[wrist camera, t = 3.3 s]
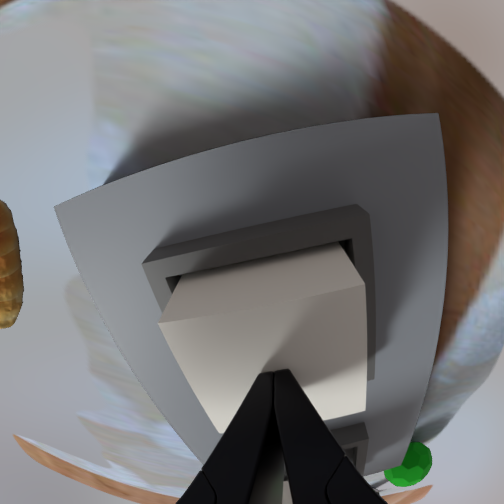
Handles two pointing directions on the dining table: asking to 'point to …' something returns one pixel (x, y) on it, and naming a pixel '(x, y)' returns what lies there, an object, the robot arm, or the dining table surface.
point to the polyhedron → (411, 466)
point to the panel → (276, 242)
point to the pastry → (9, 269)
